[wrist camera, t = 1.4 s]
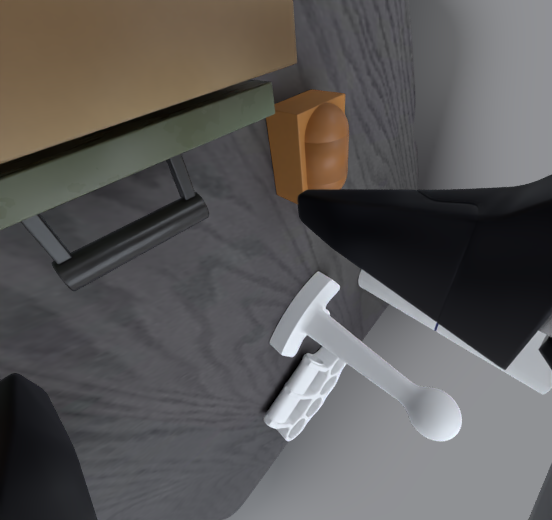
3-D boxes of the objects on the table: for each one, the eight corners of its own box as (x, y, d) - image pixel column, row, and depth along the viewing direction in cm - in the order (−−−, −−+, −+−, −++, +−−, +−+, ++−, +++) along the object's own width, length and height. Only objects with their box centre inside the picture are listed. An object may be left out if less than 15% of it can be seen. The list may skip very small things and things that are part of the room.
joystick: (314, 267, 36) (495, 379, 24) (335, 284, 42) (488, 380, 30) (264, 342, 36) (420, 492, 24) (292, 349, 42) (428, 471, 30)
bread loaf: (314, 172, 28) (360, 188, 25) (276, 195, 26) (320, 215, 23) (311, 89, 24) (366, 95, 20) (264, 108, 21) (317, 118, 18)
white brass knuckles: (312, 332, 44) (343, 343, 56) (246, 432, 44) (291, 422, 56) (329, 346, 42) (358, 354, 54) (260, 451, 42) (304, 436, 54)
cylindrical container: (355, 294, 49) (534, 405, 34) (362, 260, 45) (570, 370, 30) (379, 275, 53) (551, 367, 38) (387, 241, 48) (585, 331, 33)
